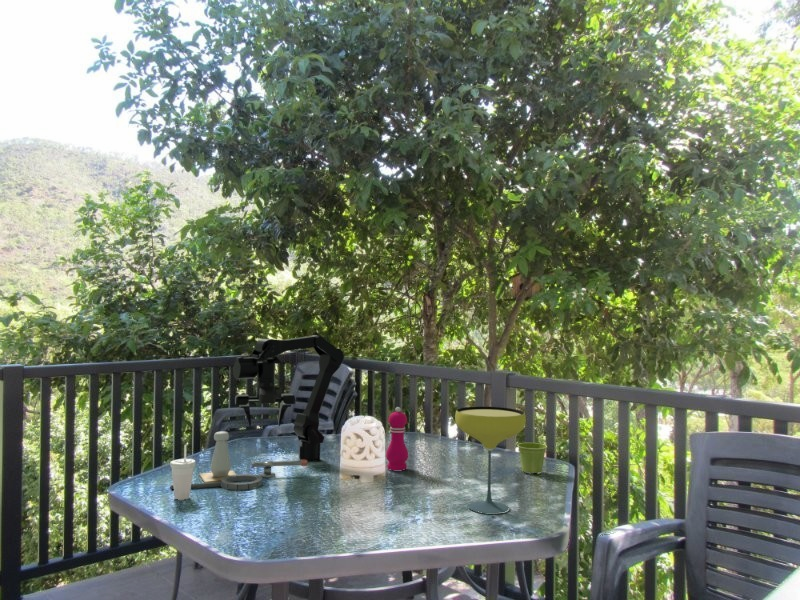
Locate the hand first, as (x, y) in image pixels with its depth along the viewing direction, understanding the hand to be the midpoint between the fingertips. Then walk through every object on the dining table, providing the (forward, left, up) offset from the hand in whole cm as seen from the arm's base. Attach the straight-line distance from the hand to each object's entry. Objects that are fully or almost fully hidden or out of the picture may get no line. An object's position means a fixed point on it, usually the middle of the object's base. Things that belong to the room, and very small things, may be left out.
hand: (264, 426), depth 202 cm
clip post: (0, +12, -13) cm, 18 cm away
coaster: (+14, +11, -13) cm, 22 cm away
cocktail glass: (-52, +58, -13) cm, 79 cm away
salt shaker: (+14, +11, -13) cm, 22 cm away
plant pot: (-82, +27, -13) cm, 87 cm away
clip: (-4, +12, -10) cm, 16 cm away
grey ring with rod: (+15, +20, -13) cm, 28 cm away
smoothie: (+24, +30, -13) cm, 41 cm away
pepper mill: (-41, +13, -13) cm, 45 cm away
